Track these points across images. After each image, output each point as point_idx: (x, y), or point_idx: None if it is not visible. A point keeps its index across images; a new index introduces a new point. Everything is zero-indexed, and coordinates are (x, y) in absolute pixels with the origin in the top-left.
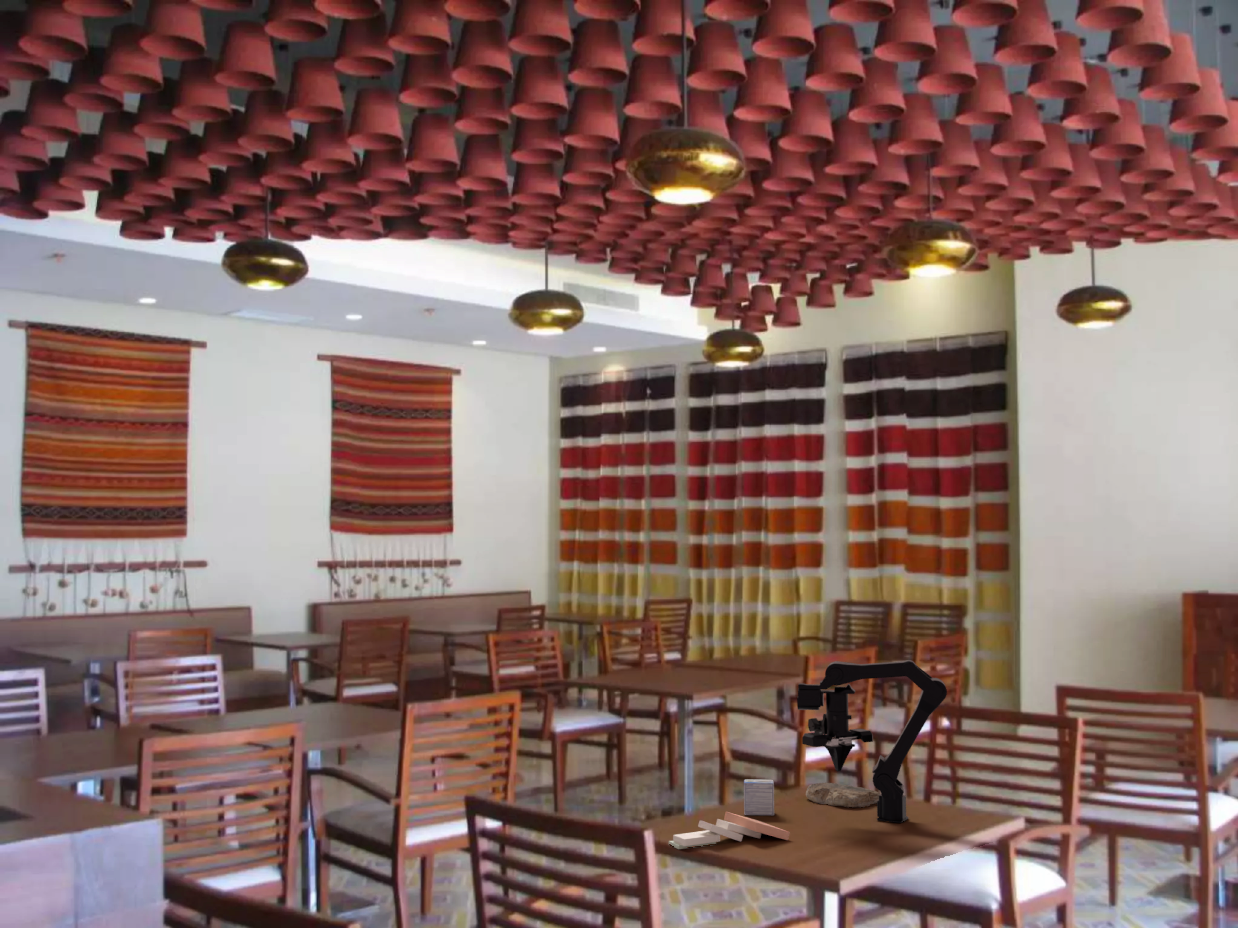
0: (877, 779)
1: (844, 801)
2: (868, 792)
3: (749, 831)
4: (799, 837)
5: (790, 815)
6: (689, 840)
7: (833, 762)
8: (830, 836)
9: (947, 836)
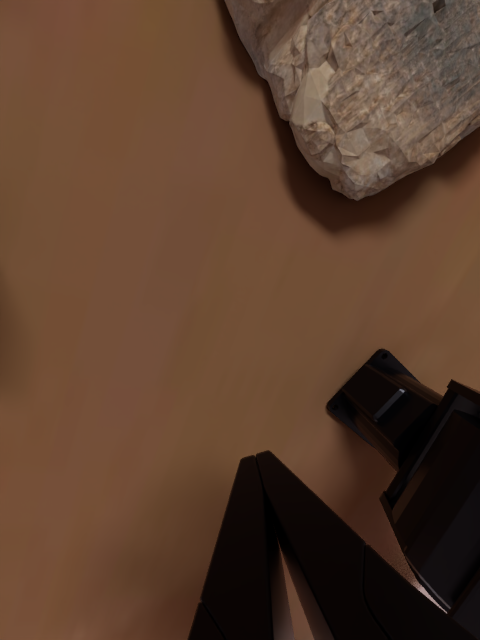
0: (424, 586)
1: (321, 173)
2: (475, 114)
3: None
4: (10, 567)
5: (40, 265)
6: None
7: (221, 542)
8: (113, 560)
9: (404, 567)
